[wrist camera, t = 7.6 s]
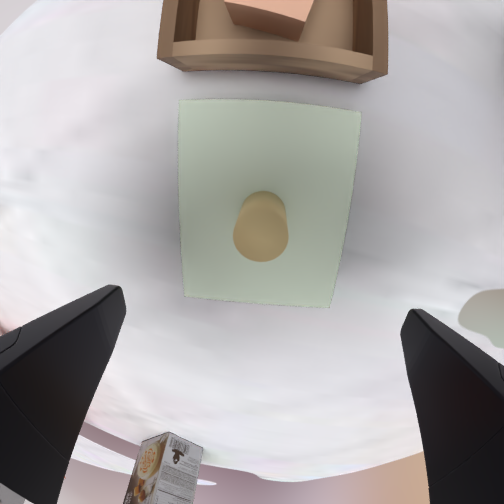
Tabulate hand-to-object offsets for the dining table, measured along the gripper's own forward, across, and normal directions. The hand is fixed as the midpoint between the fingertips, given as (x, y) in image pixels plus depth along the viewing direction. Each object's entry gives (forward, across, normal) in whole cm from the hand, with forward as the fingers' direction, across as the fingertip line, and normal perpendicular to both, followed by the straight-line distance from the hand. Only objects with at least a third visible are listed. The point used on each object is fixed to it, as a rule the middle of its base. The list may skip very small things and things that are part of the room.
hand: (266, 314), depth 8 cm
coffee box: (+12, +12, +38) cm, 41 cm away
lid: (+12, 0, 0) cm, 12 cm away
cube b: (+11, 0, -13) cm, 17 cm away
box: (+11, 0, -16) cm, 19 cm away
